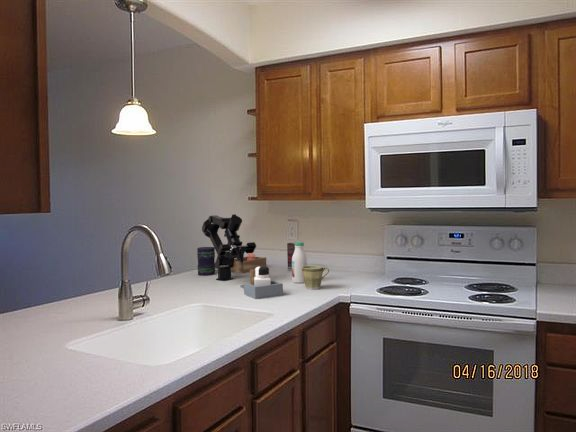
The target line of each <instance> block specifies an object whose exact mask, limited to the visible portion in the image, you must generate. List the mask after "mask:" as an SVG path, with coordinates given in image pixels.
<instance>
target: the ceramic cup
mask: <svg viewBox="0 0 576 432" xmlns="http://www.w3.org/2000/svg"><path fill="white" fill-rule="evenodd" d="M326 270H327V272H326V273H325V274H324V275H323V272H324V271H326ZM302 272H303V276H304V281H305V283H304V285H305V289H306V290H310V291H311V290H312V291H314V290H319V289H321V285H322V280H323V279H324V278H325V277H326V276H327V275H328V274H329V272H330V268H328V267H324V266H322V265H307V266H303V267H302Z"/></svg>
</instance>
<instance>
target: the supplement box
mask: <svg viewBox="0 0 576 432" xmlns="http://www.w3.org/2000/svg"><path fill="white" fill-rule="evenodd" d="M286 246H287V249H286V251H287V254H286V255H287V256H286V257H287V271H292V256H293V254H294V251H295V242H288V243H287V244H286Z"/></svg>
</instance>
